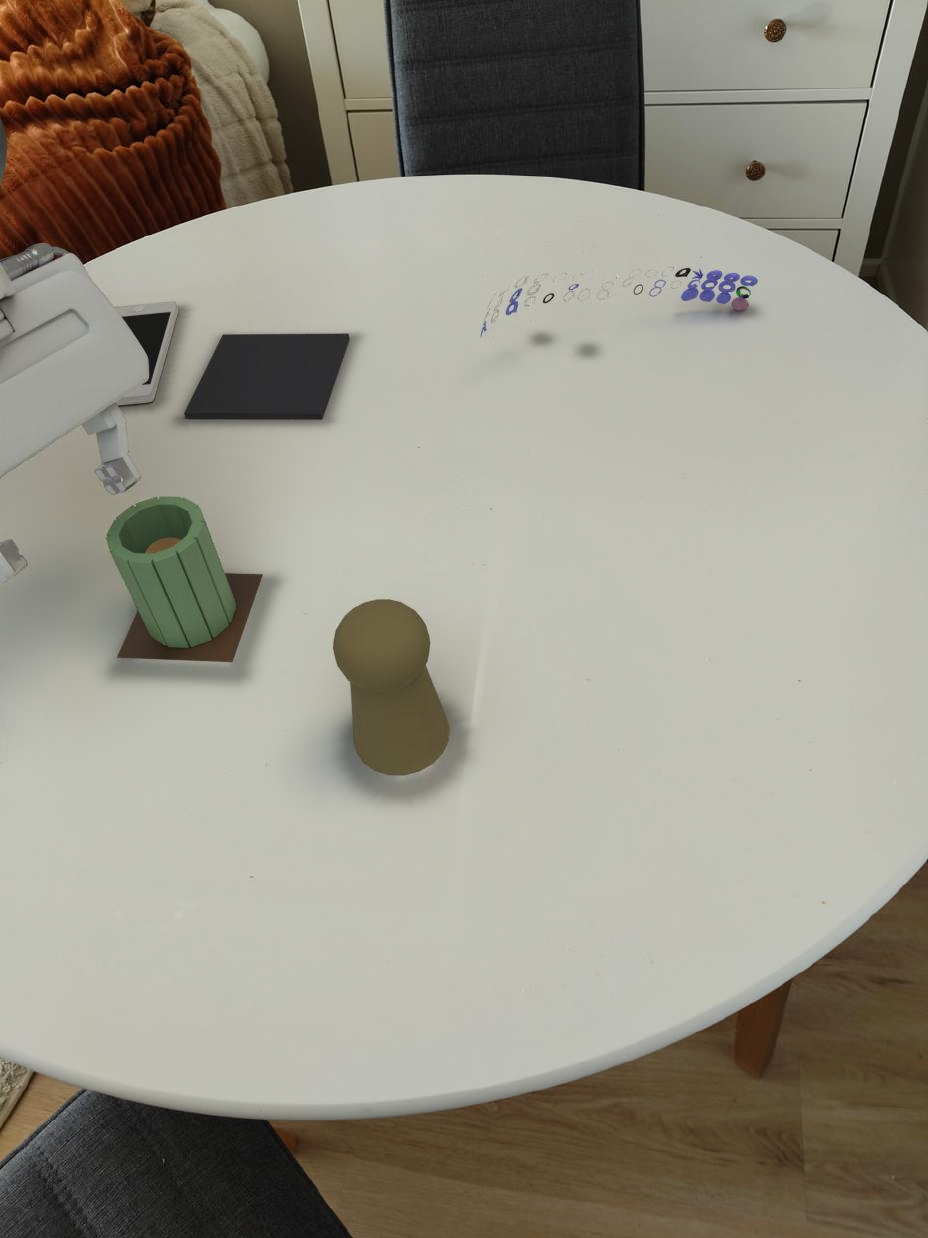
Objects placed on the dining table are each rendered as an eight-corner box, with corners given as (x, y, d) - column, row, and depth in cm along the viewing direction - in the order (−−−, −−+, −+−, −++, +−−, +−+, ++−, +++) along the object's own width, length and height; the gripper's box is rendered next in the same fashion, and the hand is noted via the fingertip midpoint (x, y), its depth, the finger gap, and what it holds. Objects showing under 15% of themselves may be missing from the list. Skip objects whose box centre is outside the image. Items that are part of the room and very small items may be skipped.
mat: (185, 418, 84) (183, 412, 84) (224, 339, 92) (222, 333, 92) (322, 419, 83) (321, 413, 82) (349, 338, 91) (348, 332, 90)
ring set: (714, 295, 94) (767, 194, 84) (745, 393, 89) (805, 297, 79) (457, 288, 89) (480, 178, 79) (473, 390, 84) (501, 288, 74)
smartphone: (179, 307, 97) (176, 299, 96) (153, 402, 86) (150, 393, 86) (107, 315, 97) (104, 306, 96) (72, 410, 86) (68, 401, 86)
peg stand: (121, 666, 66) (82, 595, 61) (159, 580, 71) (127, 507, 66) (236, 671, 65) (207, 598, 60) (266, 583, 70) (241, 509, 65)
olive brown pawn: (341, 725, 61) (305, 605, 53) (431, 690, 63) (409, 567, 55) (373, 801, 58) (340, 684, 49) (469, 762, 59) (452, 642, 51)
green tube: (135, 646, 66) (92, 560, 60) (163, 581, 70) (126, 495, 64) (221, 649, 65) (186, 563, 59) (245, 583, 69) (214, 496, 63)
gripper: (29, 248, 59) (153, 452, 65) (-296, 397, 45) (-99, 640, 51) (94, 215, 56) (218, 434, 62) (-237, 365, 41) (-33, 630, 48)
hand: (72, 529), depth 56 cm, fingers open, 8 cm apart
